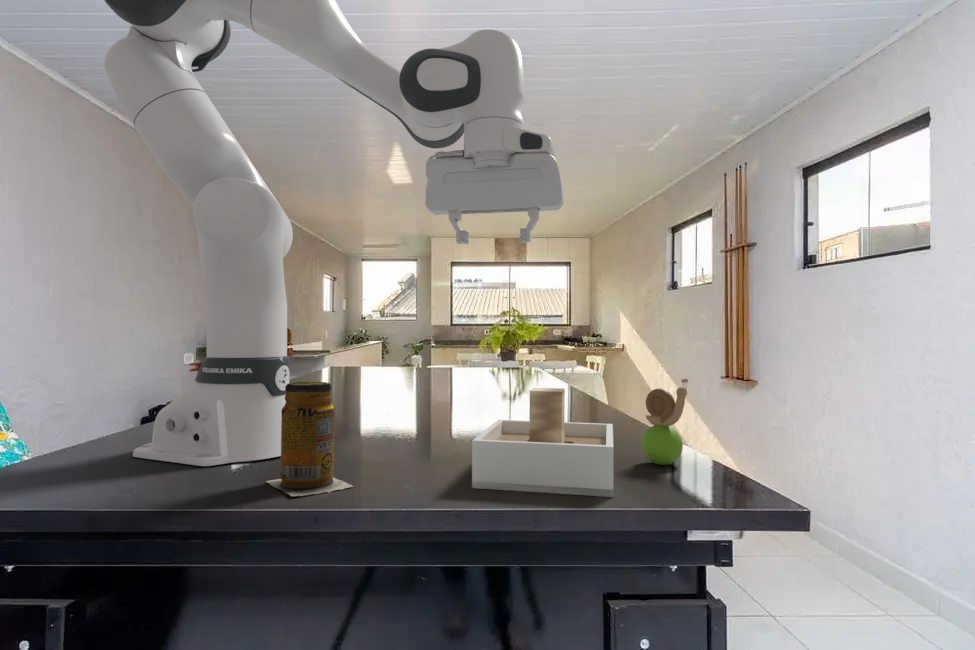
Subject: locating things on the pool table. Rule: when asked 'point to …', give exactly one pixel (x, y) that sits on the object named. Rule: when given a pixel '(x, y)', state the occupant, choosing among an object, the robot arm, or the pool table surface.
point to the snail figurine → (663, 426)
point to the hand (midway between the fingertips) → (493, 242)
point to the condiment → (307, 441)
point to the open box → (544, 459)
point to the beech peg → (547, 415)
